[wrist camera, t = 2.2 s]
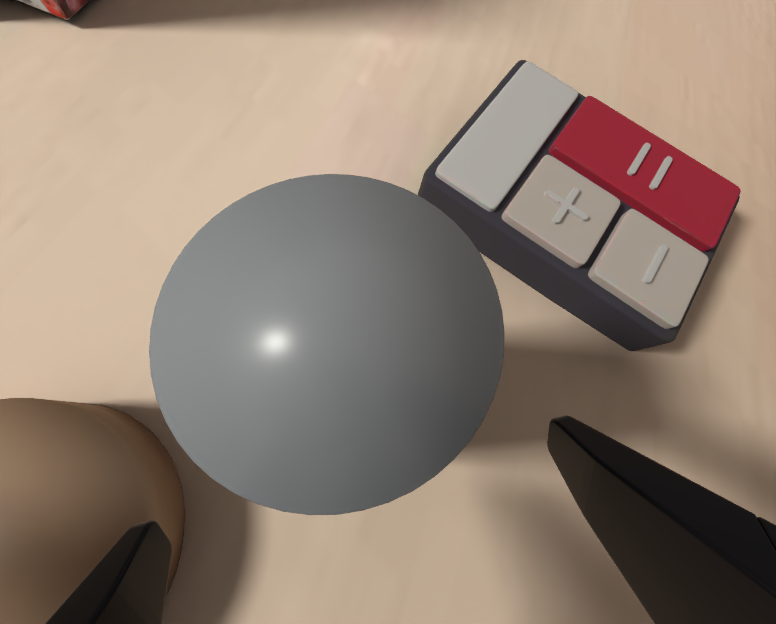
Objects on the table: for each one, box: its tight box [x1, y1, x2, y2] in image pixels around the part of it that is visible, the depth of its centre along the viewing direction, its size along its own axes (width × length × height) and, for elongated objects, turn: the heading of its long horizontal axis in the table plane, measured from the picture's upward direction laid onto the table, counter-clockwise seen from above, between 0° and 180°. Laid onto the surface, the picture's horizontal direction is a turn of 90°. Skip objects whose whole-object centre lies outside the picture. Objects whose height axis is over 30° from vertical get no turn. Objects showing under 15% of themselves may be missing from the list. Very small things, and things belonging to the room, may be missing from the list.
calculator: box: [418, 60, 740, 351], centre depth 21 cm, size 11×4×15 cm
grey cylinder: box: [149, 174, 504, 515], centre depth 12 cm, size 8×8×13 cm
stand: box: [0, 398, 184, 624], centre depth 14 cm, size 12×12×3 cm
